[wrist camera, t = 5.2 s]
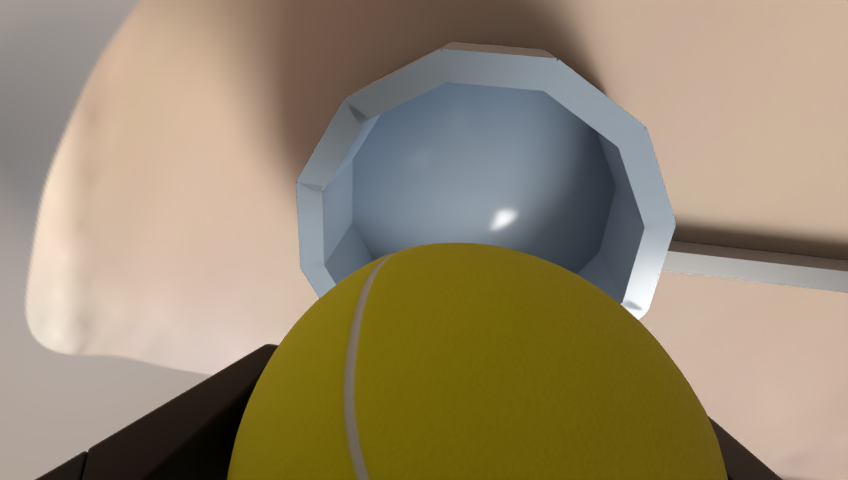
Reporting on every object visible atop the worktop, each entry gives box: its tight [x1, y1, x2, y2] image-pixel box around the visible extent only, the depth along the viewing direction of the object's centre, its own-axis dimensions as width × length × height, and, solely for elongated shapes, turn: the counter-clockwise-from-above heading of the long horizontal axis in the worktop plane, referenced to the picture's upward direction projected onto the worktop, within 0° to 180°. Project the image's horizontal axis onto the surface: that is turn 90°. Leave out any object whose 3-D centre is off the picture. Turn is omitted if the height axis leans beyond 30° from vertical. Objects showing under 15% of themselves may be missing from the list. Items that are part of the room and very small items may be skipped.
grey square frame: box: [661, 241, 848, 293], centre depth 20 cm, size 15×13×1 cm
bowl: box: [296, 42, 676, 320], centre depth 16 cm, size 11×11×4 cm
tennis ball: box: [227, 243, 728, 480], centre depth 8 cm, size 7×7×7 cm
